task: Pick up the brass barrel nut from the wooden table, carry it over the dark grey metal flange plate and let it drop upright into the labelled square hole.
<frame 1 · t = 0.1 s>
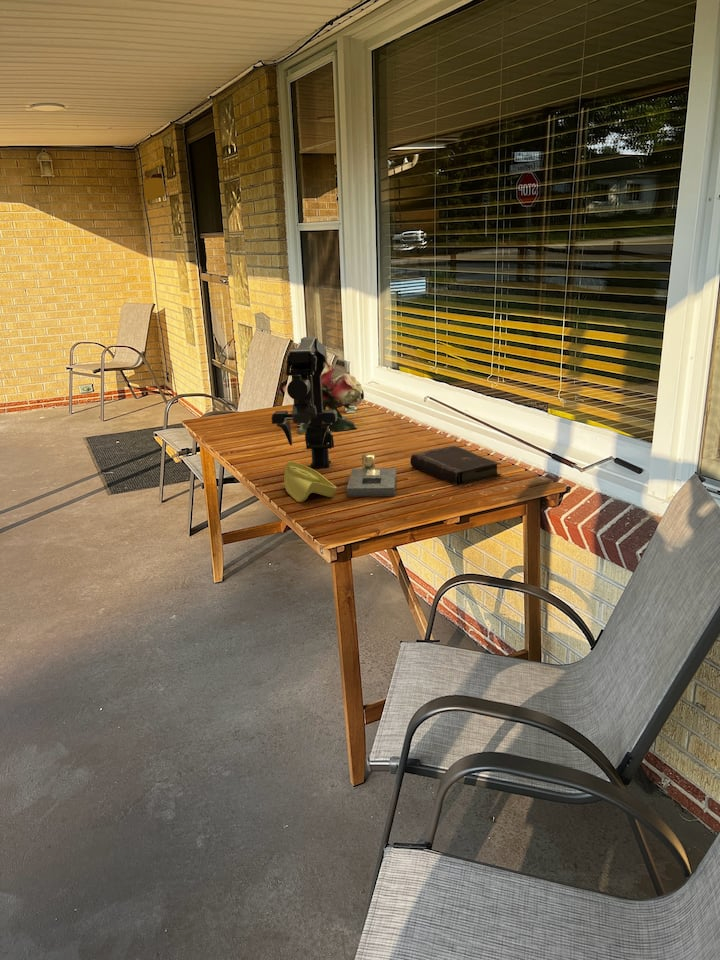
hand: (306, 445, 215), 15 cm above the table, tool pointing down, fingers open, 9 cm apart
rose bouquet: (326, 426, 302), on the table
flange plate: (372, 485, 223), on the table
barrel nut: (368, 473, 236), on the table
diary: (455, 473, 234), on the table
pneumatic valve: (350, 413, 324), on the table
plastic component: (309, 492, 220), on the table
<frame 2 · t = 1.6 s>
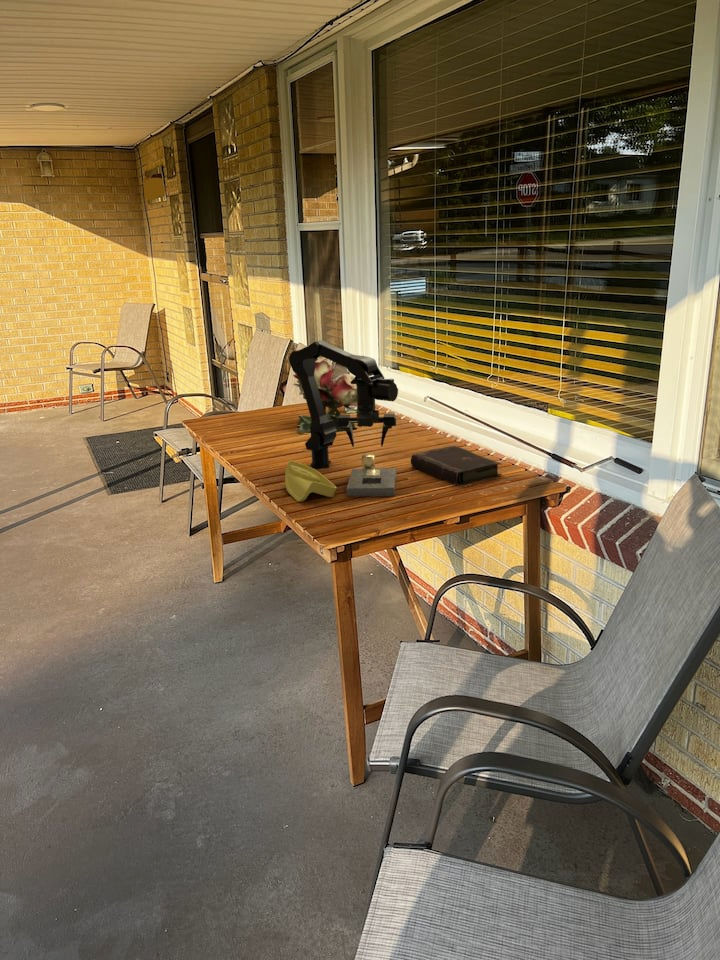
hand: (367, 446, 233), 9 cm above the table, tool pointing down, fingers open, 9 cm apart
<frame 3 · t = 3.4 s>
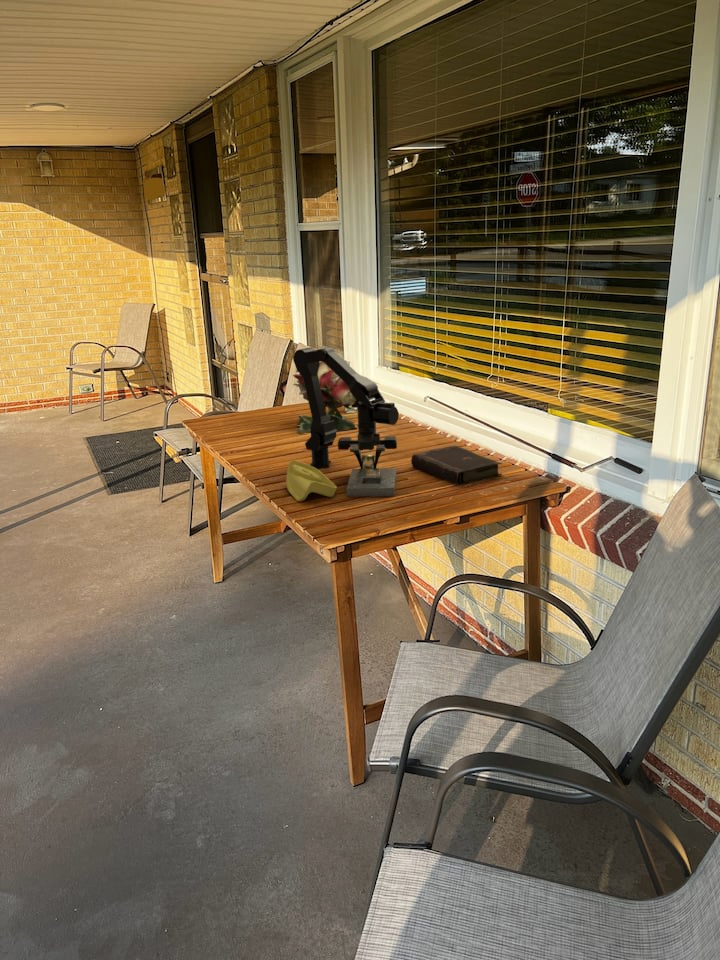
hand: (368, 468, 235), 2 cm above the table, tool pointing down, fingers closed on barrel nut, 4 cm apart
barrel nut: (368, 473, 236), on the table, touching gripper
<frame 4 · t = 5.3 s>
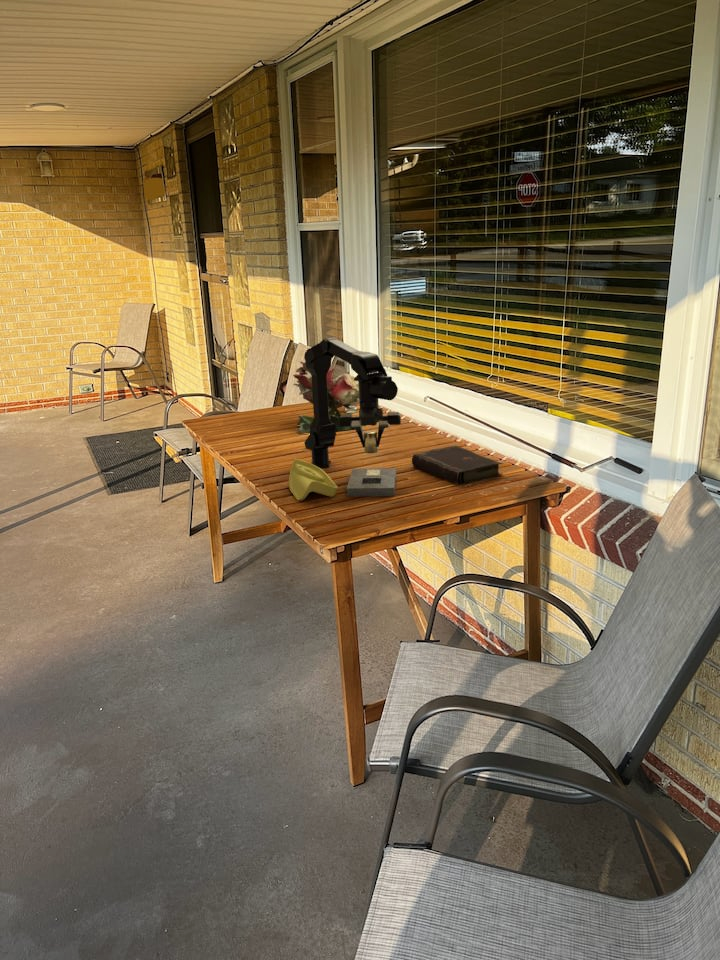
hand: (370, 447, 222), 12 cm above the table, tool pointing down, fingers closed on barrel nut, 4 cm apart
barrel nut: (371, 451, 223), point 10 cm above the table, touching gripper
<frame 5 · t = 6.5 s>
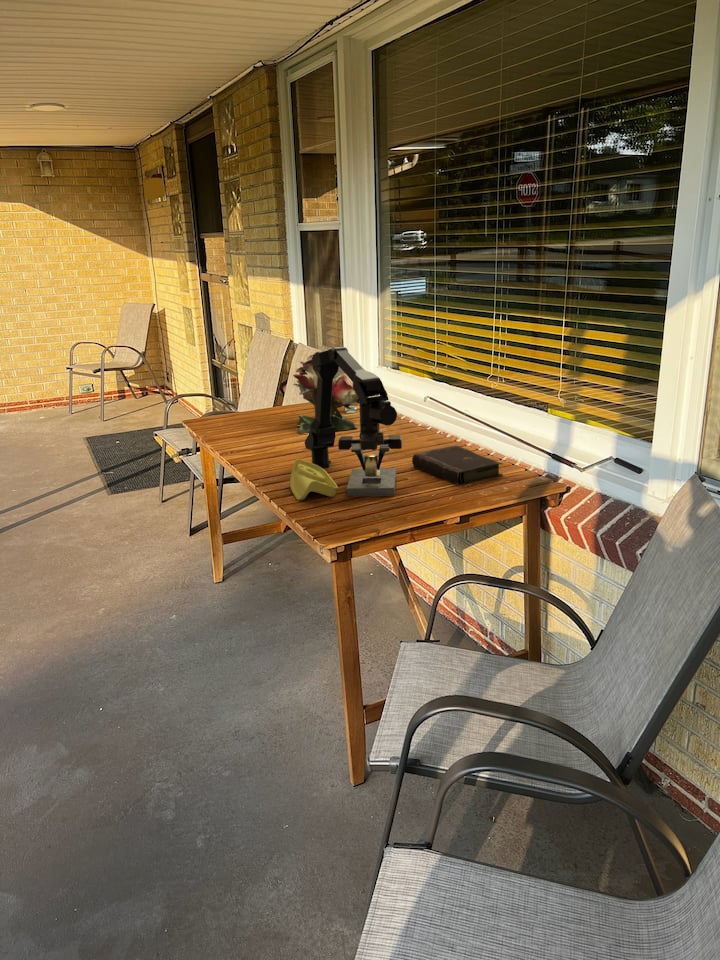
hand: (371, 470, 219), 6 cm above the table, tool pointing down, fingers closed on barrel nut, 4 cm apart
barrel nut: (371, 474, 219), point 4 cm above the table, touching gripper
when the fingers open (5 cm above the table, at t = 7.2 s): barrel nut drops 4 cm, resting in flange plate.
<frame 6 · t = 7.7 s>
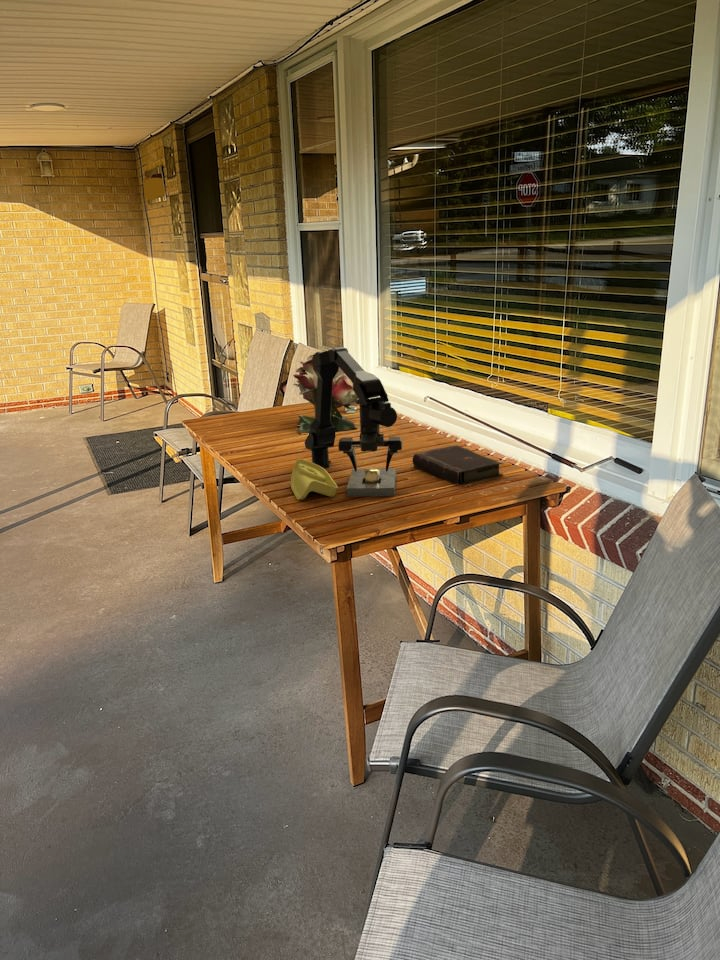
hand: (371, 471, 219), 5 cm above the table, tool pointing down, fingers open, 9 cm apart
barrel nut: (372, 488, 220), resting in flange plate
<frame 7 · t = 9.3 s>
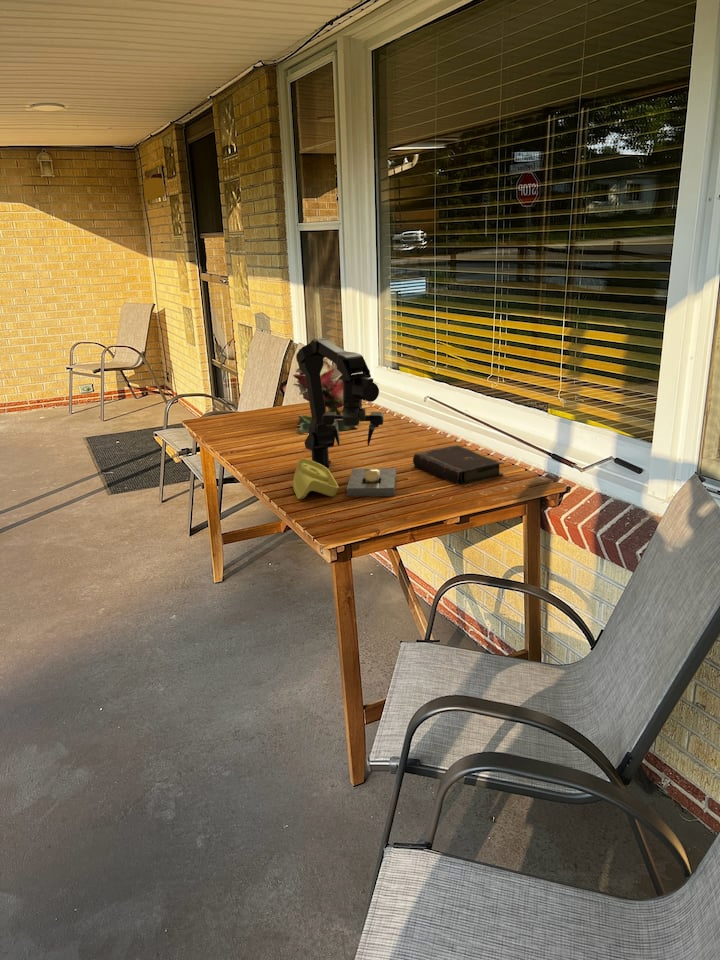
hand: (353, 445, 226), 11 cm above the table, tool pointing down, fingers open, 9 cm apart
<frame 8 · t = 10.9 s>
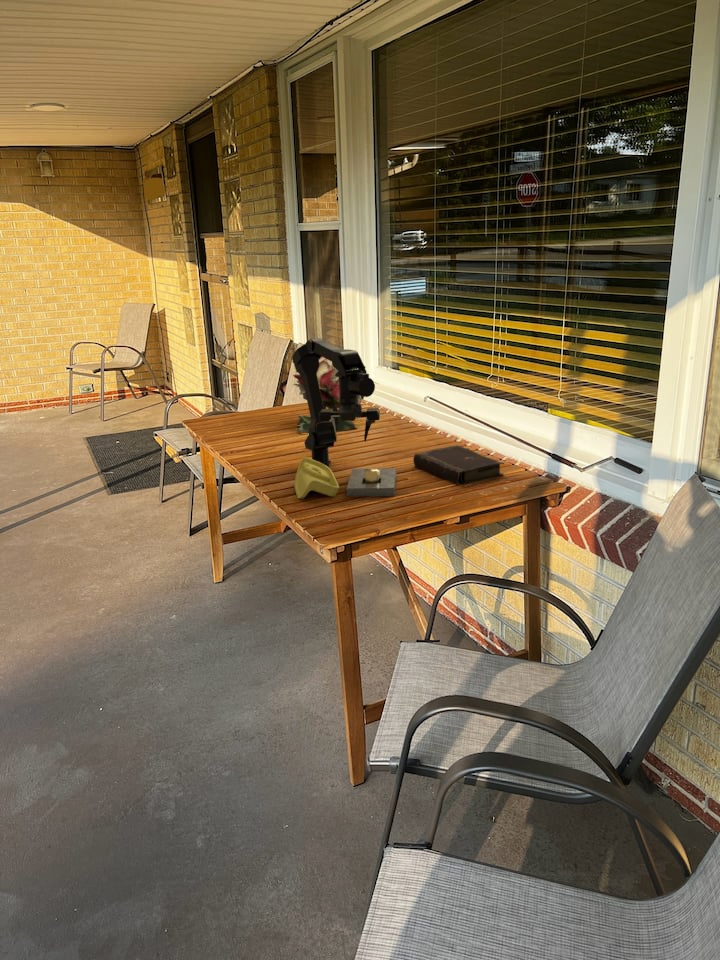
hand: (350, 441, 228), 12 cm above the table, tool pointing down, fingers open, 9 cm apart
at the end: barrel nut 0.0 cm from the target spot on the flange plate, point 0.0 cm above the flange plate's base; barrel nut tilted 1°; the gripper is holding nothing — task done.
